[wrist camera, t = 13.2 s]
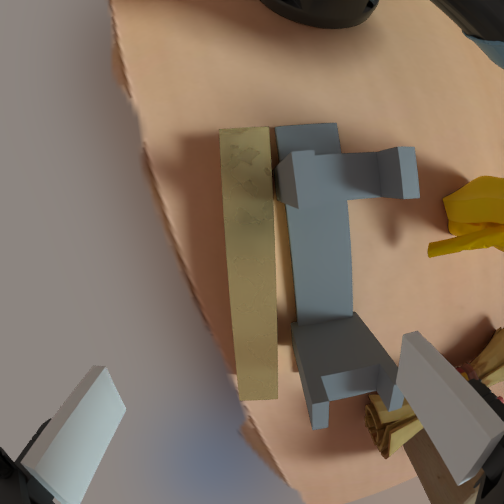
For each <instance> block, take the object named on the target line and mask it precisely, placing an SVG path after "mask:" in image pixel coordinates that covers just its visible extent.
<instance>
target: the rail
mask: <svg viewBox="0 0 504 504" xmlns="http://www.w3.org/2000/svg"><path fill="white" fill-rule="evenodd" d="M219 139H220V160H221V179H222V197H223V213H224V228H225V243H226V257H227V270H228V283H229V295H230V307H231V318H232V330H233V340H234V351H235V361H236V371H237V381H238V390H239V399H240V401H245V400H270V399H278V351H277V299H276V264H275V236H274V212H273V190H272V170H271V152H270V135H269V127H249V128H232V129H219Z"/></svg>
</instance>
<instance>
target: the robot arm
mask: <svg viewBox="0 0 504 504" xmlns="http://www.w3.org/2000/svg"><path fill="white" fill-rule="evenodd" d="M260 1H261V2H262V3H264V4H265V5H266V6H267V7H268V8H270V9H271V10H273V11H274V12H276V13H278V14H279V15H281V16H283V17H285V18H288V19H290V20H293V21H295V22H298V23H302V24H305V25H309V26H314V27H320V28H331V29H338V28H348V27H352V26H356V25H358V24H360V23H362V22H364V21H365V20H367V19H368V18H369V17H370V15H371V14H372V13H373V11H374V10H375V8H376V7H377V5H378V2H379V0H260ZM430 1H431V2H432V3H434V4H435V5H436V6H437V7H438V8H439V9H440V10H442V11H443V12H444V13H445V14H446V15H447V16H448V17H449V18H450V19H451V20H453V21H454V22H455V23H456V24H457V25H458V26H459V27H460V28H461V29H462V33H463V34H464V35H465V36H466V37H467V38H469V39H470V40H472V41H473V42H474V43H475V44H476V45H477V46H478V47H479V48H480V49H481V50H482V51H483V52H484V53H485V54H486V55H487V56H488V57H489V58H490V60H492V61H493V62H494V63H495V64H496V65H498V66H499V67H501V68H502V69H504V0H430ZM396 384H397V386H398V388H399V389H400V391H401V392H402V394H403V395H404V397H405V398H406V400H407V401H408V403H409V405H410V406H411V408H412V409H413V411H414V413H415V414H416V416H417V417H418V419H419V421H420V422H421V424H422V425H423V427H424V429H425V430H426V432H427V434H428V435H429V437H430V439H431V440H432V442H433V444H434V445H435V447H436V449H437V450H438V452H439V454H440V455H441V457H442V459H443V461H444V462H445V464H446V466H447V468H448V469H449V471H450V473H451V475H452V476H453V478H454V480H455V482H456V484H457V485H458V486H459V485H461V484H463V483H464V482H466V481H468V480H469V479H471V478H473V477H474V476H475V475H476V474H477V473H478V471H479V470H480V469H481V467H482V469H483V470H484V473H483V474H482V476H481V477H480V478H479V479H478V481H477V482H476V483H475V485H474V487H473V488H476V487H477V486H478V485H479V484H480V486H479V490H478V494H477V498H476V501H475V504H504V404H503V403H502V402H501V401H500V400H499V399H497V396H496V395H495V394H494V393H492V392H491V390H490V389H489V388H488V387H487V386H486V385H485V384H484V383H482V382H480V381H478V380H476V379H474V378H473V379H471V380H469V381H466V380H465V378H464V377H463V376H462V375H461V374H460V373H459V372H458V371H457V370H456V369H455V368H454V367H453V366H452V365H451V364H450V363H449V362H448V361H447V360H446V359H445V358H444V357H443V356H442V355H441V354H440V353H439V352H438V351H437V350H436V349H435V348H434V347H433V346H432V345H431V344H430V343H429V342H428V341H427V340H426V339H425V338H424V337H423V336H422V335H421V334H420V333H419V332H418V331H415V332H411V333H407V334H404V335H403V338H402V346H401V354H400V360H399V367H398V373H397V379H396ZM125 411H126V408H125V406H124V404H123V402H122V400H121V398H120V396H119V394H118V392H117V390H116V388H115V385H114V383H113V381H112V379H111V377H110V374H109V372H108V370H107V367H106V366H93V367H92V368H91V369H90V370H89V372H88V373H87V374H86V375H85V377H84V378H83V379H82V380H81V382H80V383H79V384H78V385H77V387H76V388H75V389H74V391H73V392H72V393H71V394H70V396H69V397H68V398H67V400H66V401H65V402H64V403H63V405H62V406H61V407H60V409H59V410H58V411H57V413H56V414H55V415H54V417H53V418H52V419H49V420H47V421H46V422H45V423H43V424H42V425H41V427H40V428H39V429H38V431H37V432H36V434H35V435H34V436H33V437H32V440H30V441H29V443H28V444H27V446H26V447H25V448H24V450H23V451H22V453H21V454H20V455H19V457H18V458H17V460H16V461H15V462H13V461H12V460H11V458H10V457H9V456H8V455H7V454H6V452H5V451H4V450H3V449H2V448H1V447H0V504H55V503H54V502H53V501H52V500H53V498H54V497H55V498H56V499H57V500H58V501H59V502H61V503H62V504H80V503H81V501H82V499H83V497H84V495H85V492H86V490H87V488H88V486H89V484H90V482H91V480H92V478H93V475H94V473H95V471H96V469H97V467H98V465H99V463H100V461H101V459H102V457H103V455H104V453H105V451H106V449H107V446H108V445H109V442H110V441H111V439H112V437H113V435H114V433H115V431H116V429H117V427H118V425H119V423H120V421H121V419H122V417H123V415H124V413H125Z"/></svg>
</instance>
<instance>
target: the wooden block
mask: <svg viewBox="0 0 504 504" xmlns="http://www.w3.org/2000/svg"><path fill="white" fill-rule="evenodd" d="M403 446H404V449H405V451H406V453H407V455H408V457H409V459H410V461H411V463H412V465H413V467H414V469H415V471H416V473H417V475H418V477H419V479H420V481H421V483H422V486H423V488H424V490H425V492H426V494H427V496H428V498H429V500H430V502H431V504H475V501H476V498H477V494H478V490H479V486H480V484H479V485H478V486H477V487H476V488H473V487H474V485H475V483H476V482H477V481H478V479H479V478H480V477H481V476H482V474H483V473H484V470H483V469H482V467H481V469H480V470H479V471H478V473H477V474H476V475H475V476H474V477H473V478H471V479H469V480H468V481H466V482H464V483H463V484H461V485H459V486H458V485H457V484H456V482H455V480H454V478H453V476H452V475H451V473H450V471H449V469H448V468H447V466H446V464H445V462H444V461H443V459H442V457H441V455H440V454H439V452H438V450H437V449H436V447H435V445H434V444H433V442H432V440H431V439H430V437H429V435H428V434H427V432H426V430H425V429H424V428H423V429H421V430H420V431H419V432H418V433H416V434H415V435H414V436H413V437H412V438H411V439H409V440H408V441H407V442H406V443H404V444H403Z"/></svg>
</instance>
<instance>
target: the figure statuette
mask: <svg viewBox="0 0 504 504" xmlns="http://www.w3.org/2000/svg"><path fill="white" fill-rule="evenodd" d="M443 203H444V206H445V210H446V213H447V217H448V219H449V222H448V229H449V232H450V233H451V234H452V235H455V236H457V237H454V238H450V239H446V240H441V241H437V242H431V243H429V246H428V257H429V258H431V257H436V256H440V255H446V254H451V253H457V252H460V251H462V250H474V249H481V248H489V247H492V246H494V247H495V248H497V249H499V250H501V251H503V252H504V178H498V177H493V176H481V177H478V178H476V179H474V180H472V181H471V182H469V183H468V184H466V185H465V186H463V187H462V188H460V189H459V190H457V191H456V192H454V193H452V194H450V195H448V196H446V197H444V198H443Z"/></svg>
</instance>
